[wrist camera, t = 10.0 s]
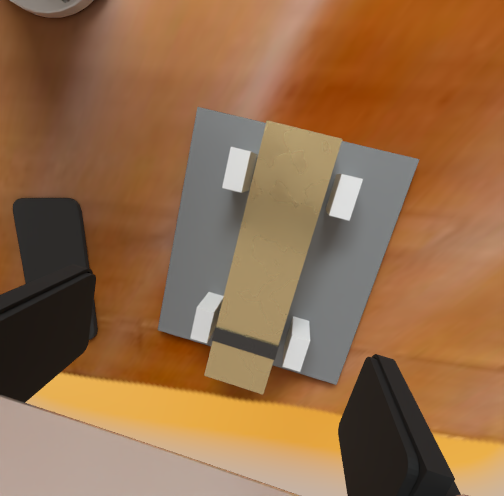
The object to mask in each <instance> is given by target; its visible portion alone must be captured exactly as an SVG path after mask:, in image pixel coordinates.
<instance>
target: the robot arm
mask: <svg viewBox="0 0 504 496" xmlns="http://www.w3.org/2000/svg"><path fill="white" fill-rule="evenodd" d="M10 1H11V2H13V3H14V4H16V5H18V6H19V7H21V8H22V9H24V10H26V11H28V12H31V13H33V14H35V15H38V16H43V17H47V18H62V17H65V16H69V15H73V14H75V13H77V12H79V11H81V10H82V9H84V8H86V7H87V6H88V5H89V4H91V3H92V2H93V1H94V0H10ZM95 283H96V277H95V275H94V274H93V273H92V270H91V269H88V268H85V267H82V266H78V265H75V264H73V265H70V266H67V267H65V268H63V269H60V270H58V271H56V272H53V273H51V274H49V275H46V276H44V277H41V278H39V279H37V280H34V281H32V282H30V283H27V284H25V285H23V286H20V287H18V288H15V289H13V290H11V291H8V292H6V293H4V294H1V295H0V496H299V495H296V494H294V493H291V492H288V491H285V490H282V489H279V488H277V487H274V486H271V485H268V484H265V483H262V482H259V481H256V480H253V479H250V478H247V477H244V476H242V475H238V474H236V473H233V472H230V471H227V470H224V469H221V468H218V467H215V466H213V465H210V464H207V463H204V462H201V461H198V460H195V459H192V458H189V457H186V456H183V455H180V454H177V453H174V452H171V451H168V450H165V449H162V448H159V447H156V446H153V445H150V444H148V443H145V442H141V441H138V440H136V439H132V438H130V437H127V436H124V435H120V434H118V433H115V432H112V431H109V430H106V429H102V428H100V427H97V426H94V425H91V424H88V423H85V422H82V421H79V420H76V419H72V418H69V417H66V416H64V415H60V414H57V413H54V412H51V411H48V410H45V409H42V408H39V407H36V406H33V405H30V404H27V403H25V402H26V401H27V400H29V399H30V398H31V397H32V396H33V395H34V394H35V393H37V392H38V391H39V390H40V389H41V388H43V387H44V386H45V385H46V384H47V383H48V382H50V381H51V380H52V379H53V378H54V377H55V376H56V375H58V374H59V373H60V372H61V371H62V370H64V369H65V368H66V367H67V366H68V365H69V364H71V363H72V362H73V361H74V360H75V359H76V358H78V357H79V356H80V355H81V354H82V353H83V352H84V351H85V350H86V348H87V345H88V342H89V334H90V325H91V317H92V308H93V300H94V291H95ZM338 435H339V442H340V449H341V455H342V461H343V468H344V474H345V481H346V488H347V494H348V496H468V495H461V494H460V492H459V490H458V488H457V486H456V484H455V482H454V480H455V478H454V476H453V474H452V472H451V470H450V468H449V466H448V464H447V462H446V460H445V458H444V456H443V455H442V452H441V450H440V449H439V447H438V445H437V443H436V441H435V439H434V437H433V435H432V433H431V431H430V429H429V427H428V425H427V423H426V421H425V419H424V417H423V415H422V413H421V411H420V409H419V407H418V405H417V403H416V401H415V399H414V397H413V395H412V393H411V391H410V389H409V387H408V386H407V384H406V382H405V380H404V378H403V376H402V374H401V372H400V370H399V368H398V366H397V364H396V362H395V361H394V360H393V359H390V358H387V357H384V356H380V355H377V354H375V355H373V356H372V358H371V357H367V358H366V360H365V362H364V364H363V367H362V369H361V371H360V374H359V376H358V379H357V381H356V384H355V386H354V389H353V391H352V394H351V396H350V398H349V401H348V403H347V406H346V408H345V411H344V413H343V416H342V418H341V421H340V423H339V429H338Z"/></svg>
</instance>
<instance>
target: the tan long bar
mask: <svg viewBox="0 0 504 496" xmlns="http://www.w3.org/2000/svg"><path fill="white" fill-rule="evenodd" d="M341 142H342V139H340V138H336V137H332V136H328V135H324V134H320V133H316V132H312V131H308V130H304V129H300V128H296V127H292V126H288V125H284V124H280V123H276V122H272V121H267V122H266V126H265V130H264V134H263V138H262V142H261V146H260V150H259V154H258V158H257V162H256V166H255V170H254V175H253V179H252V183H251V187H250V191H249V195H248V199H247V203H246V207H245V211H244V215H243V219H242V223H241V228H240V232H239V236H238V240H237V244H236V248H235V252H234V256H233V260H232V264H231V268H230V272H229V276H228V281H227V285H226V289H225V293H224V297H223V301H222V305H221V309H220V313H219V317H218V321H217V325H216V326H215V330H214V334H213V338H212V341H213V342H212V346H211V350H210V354H209V358H208V362H207V366H206V370H205V374H204V376H207V377H210V378H213V379H216V380H219V381H223V382H226V383H229V384H232V385H235V386H238V387H241V388H244V389H247V390H250V391H253V392H256V393H259V394H263V393H264V390H265V387H266V384H267V381H268V377H269V374H270V371H271V368H272V364H273V361H274V360H275V358H276V354H277V351H278V348H279V342H280V339H281V335H282V332H283V329H284V326H285V323H286V319H287V316H288V313H289V310H290V306H291V303H292V300H293V297H294V294H295V290H296V287H297V284H298V281H299V277H300V274H301V271H302V268H303V265H304V261H305V258H306V255H307V252H308V248H309V245H310V242H311V239H312V236H313V232H314V229H315V226H316V223H317V219H318V216H319V213H320V210H321V207H322V203H323V200H324V197H325V194H326V191H327V187H328V184H329V181H330V178H331V174H332V171H333V168H334V165H335V162H336V158H337V155H338V152H339V149H340V145H341Z"/></svg>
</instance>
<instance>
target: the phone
mask: <svg viewBox="0 0 504 496" xmlns="http://www.w3.org/2000/svg"><path fill="white" fill-rule="evenodd" d="M13 214H14V220H15V225H16V231H17V237H18V242H19V248H20V254H21V259H22V265H23V271H24V276H25V282H26V284H27V283H30V282H32V281H34V280H37V279H39V278H41V277H44V276H46V275H49V274H51V273H53V272H56V271H58V270H60V269H63V268H65V267H67V266H70V265H73V264H75V265H78V266H82V267H85V268H88V269H89V262H88V254H87V247H86V240H85V232H84V225H83V218H82V211H81V207H80V205H79V204H78V202H77V201H75V200H74V199H71V198H21V199H17V200H16V201H15V202H14V204H13ZM97 331H98V328H97V320H96V313H95V303H94V300H93V308H92V317H91V325H90V334H89V340H90V339H92V338H93V337H95V336H96V334H97Z"/></svg>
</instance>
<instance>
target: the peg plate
mask: <svg viewBox="0 0 504 496" xmlns="http://www.w3.org/2000/svg"><path fill="white" fill-rule="evenodd" d="M265 126H266V123H263V122H259V121H255V120H251V119H247V118H242V117H238V116H234V115H230V114H225V113H221V112H217V111H213V110H209V109H204V108H200V107H198V108H197V113H196V119H195V124H194V130H193V136H192V141H191V147H190V152H189V158H188V164H187V169H186V175H185V180H184V186H183V192H182V197H181V203H180V208H179V214H178V220H177V225H176V231H175V236H174V242H173V248H172V253H171V259H170V264H169V270H168V275H167V281H166V287H165V292H164V298H163V303H162V309H161V315H160V320H159V326H158V330H159V331H163V332H166V333H169V334H172V335H176V336H179V337H182V338H185V339H189V340H192V341H195V342H198V343H202V344H205V345H208V346H212V342H213V341H212V338H213V334H214V330H215V326H216V325H217V321H218V317H219V313H220V309H221V305H222V301H223V297H224V293H225V289H226V285H227V281H228V276H229V272H230V268H231V264H232V260H233V256H234V252H235V248H236V244H237V240H238V236H239V232H240V228H241V223H242V219H243V215H244V211H245V207H246V203H247V199H248V195H249V191H250V187H251V183H252V179H253V175H254V170H255V166H256V162H257V158H258V154H259V150H260V146H261V142H262V138H263V134H264V130H265ZM418 161H419V159H416V158H411V157H407V156H403V155H399V154H394V153H390V152H386V151H382V150H377V149H373V148H369V147H365V146H361V145H356V144H352V143H348V142H344V141H342V142H341V145H340V149H339V152H338V155H337V158H336V162H335V165H334V168H333V171H332V174H331V178H330V181H329V184H328V187H327V191H326V194H325V197H324V200H323V203H322V207H321V210H320V213H319V216H318V219H317V223H316V226H315V229H314V232H313V236H312V239H311V242H310V245H309V248H308V252H307V255H306V258H305V261H304V265H303V268H302V271H301V274H300V277H299V281H298V284H297V287H296V290H295V294H294V297H293V300H292V303H291V306H290V310H289V313H288V316H287V319H286V323H285V326H284V329H283V332H282V335H281V339H280V342H279V348H278V351H277V354H276V358H275V360H274V361H273V364H272V365H273V366H277V367H280V368H283V369H286V370H290V371H293V372H296V373H299V374H303V375H306V376H309V377H312V378H316V379H319V380H322V381H326V382H329V383H332V384H335V385H336V384H337V382H338V379H339V376H340V373H341V371H342V368H343V365H344V363H345V360H346V357H347V354H348V352H349V349H350V346H351V344H352V341H353V338H354V335H355V333H356V330H357V327H358V325H359V322H360V319H361V316H362V314H363V311H364V308H365V306H366V303H367V300H368V297H369V295H370V292H371V289H372V287H373V284H374V281H375V278H376V276H377V273H378V270H379V267H380V265H381V262H382V259H383V257H384V254H385V251H386V248H387V246H388V243H389V240H390V238H391V235H392V232H393V229H394V227H395V224H396V221H397V219H398V216H399V213H400V210H401V208H402V205H403V202H404V200H405V197H406V194H407V191H408V189H409V186H410V183H411V181H412V178H413V175H414V172H415V170H416V167H417V164H418Z"/></svg>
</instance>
